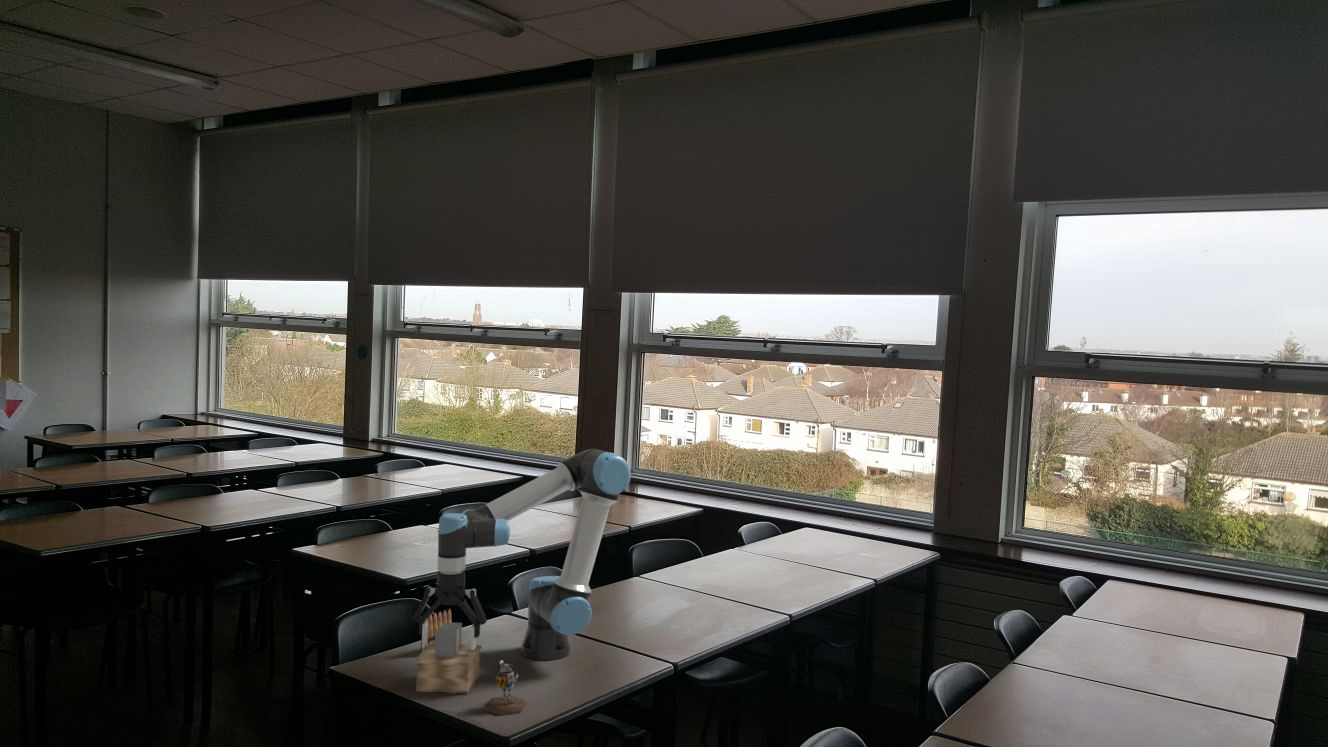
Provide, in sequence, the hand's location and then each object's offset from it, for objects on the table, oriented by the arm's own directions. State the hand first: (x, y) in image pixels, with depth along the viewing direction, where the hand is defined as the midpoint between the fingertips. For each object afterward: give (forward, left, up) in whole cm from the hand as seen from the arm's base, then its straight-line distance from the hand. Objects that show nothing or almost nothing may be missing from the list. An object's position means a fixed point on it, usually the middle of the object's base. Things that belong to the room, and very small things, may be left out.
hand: (448, 647), depth 234 cm
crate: (0, 0, -10) cm, 10 cm away
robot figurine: (-19, +13, -11) cm, 25 cm away
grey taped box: (0, 0, -1) cm, 1 cm away
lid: (0, 0, -2) cm, 2 cm away
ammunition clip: (+11, -25, -11) cm, 30 cm away
